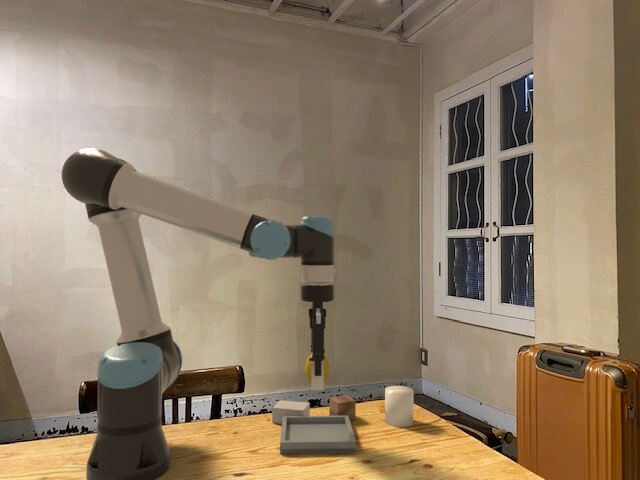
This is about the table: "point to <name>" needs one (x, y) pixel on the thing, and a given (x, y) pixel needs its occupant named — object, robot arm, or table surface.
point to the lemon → (309, 369)
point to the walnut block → (342, 407)
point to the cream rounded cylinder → (399, 406)
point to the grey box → (289, 410)
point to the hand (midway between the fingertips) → (317, 385)
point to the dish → (317, 435)
